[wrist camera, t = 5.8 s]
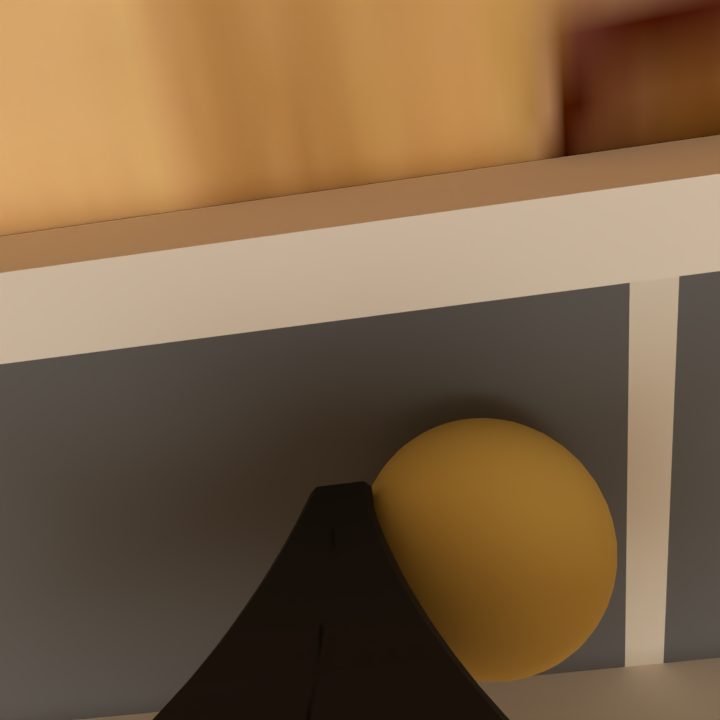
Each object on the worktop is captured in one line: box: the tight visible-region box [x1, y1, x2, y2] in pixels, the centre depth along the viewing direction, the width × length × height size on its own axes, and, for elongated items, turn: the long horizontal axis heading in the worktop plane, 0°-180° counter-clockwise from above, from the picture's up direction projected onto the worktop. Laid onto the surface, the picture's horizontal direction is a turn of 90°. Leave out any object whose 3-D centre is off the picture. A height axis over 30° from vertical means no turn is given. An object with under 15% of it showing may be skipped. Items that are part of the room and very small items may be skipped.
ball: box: [372, 418, 617, 682], centre depth 11 cm, size 4×4×4 cm
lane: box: [0, 135, 720, 720], centre depth 12 cm, size 12×26×3 cm, turn 98°
